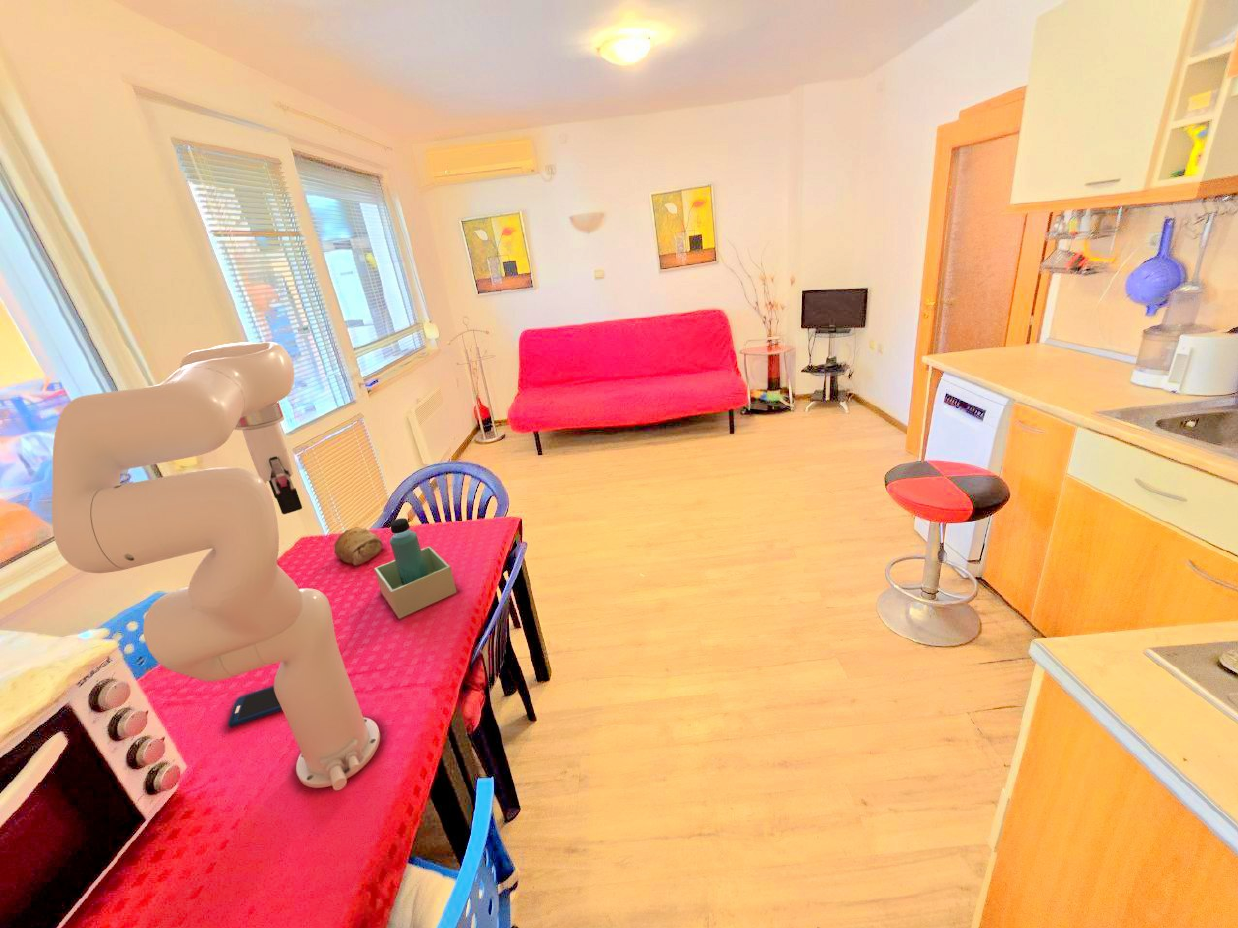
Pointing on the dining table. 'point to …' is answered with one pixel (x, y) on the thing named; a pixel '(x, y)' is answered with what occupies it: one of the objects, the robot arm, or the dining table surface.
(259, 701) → the cell phone
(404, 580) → the beverage bottle
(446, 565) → the bin
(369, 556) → the pastry
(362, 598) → the dining table surface
